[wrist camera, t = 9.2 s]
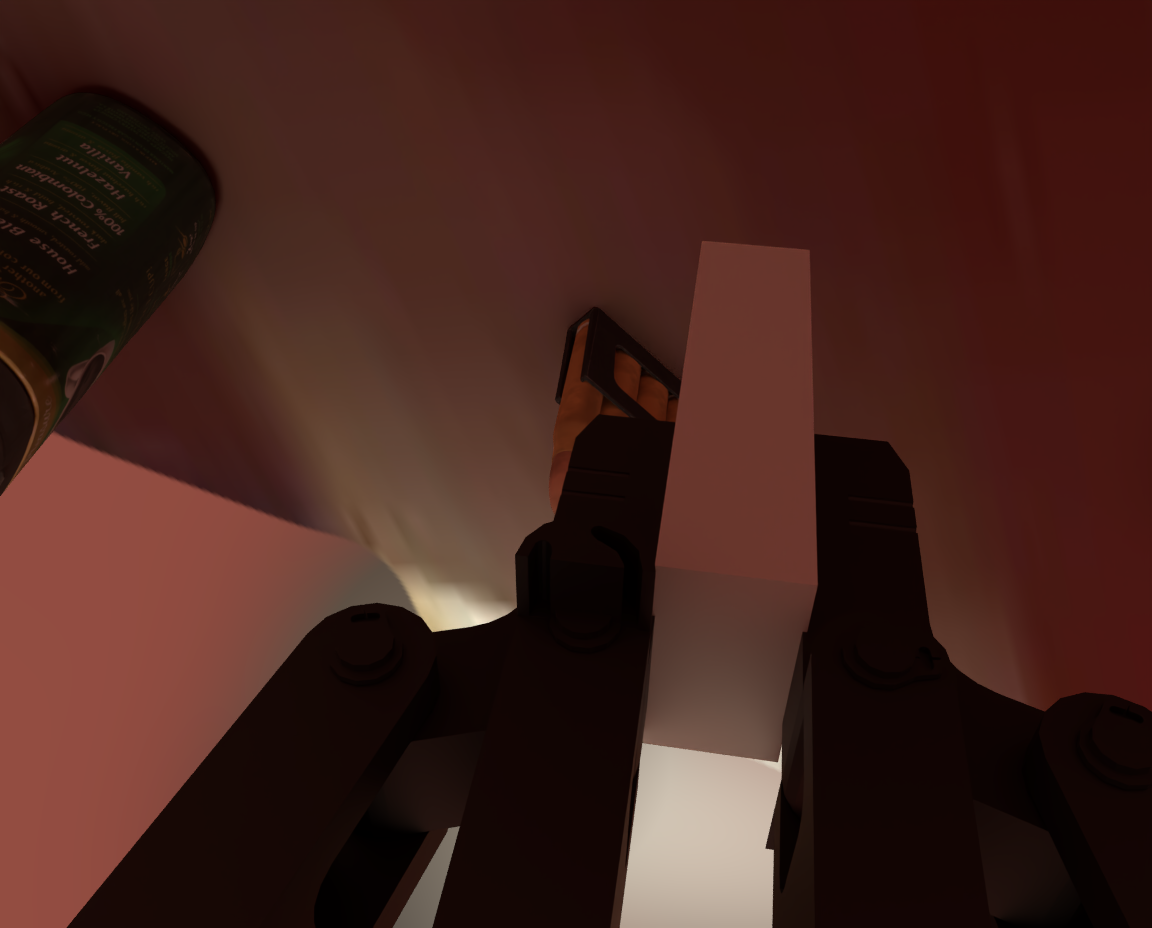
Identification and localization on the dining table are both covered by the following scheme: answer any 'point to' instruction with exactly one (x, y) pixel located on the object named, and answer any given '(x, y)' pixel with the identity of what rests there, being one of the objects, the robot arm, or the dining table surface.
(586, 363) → the ammunition clip
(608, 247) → the dining table surface
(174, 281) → the coffee jar
